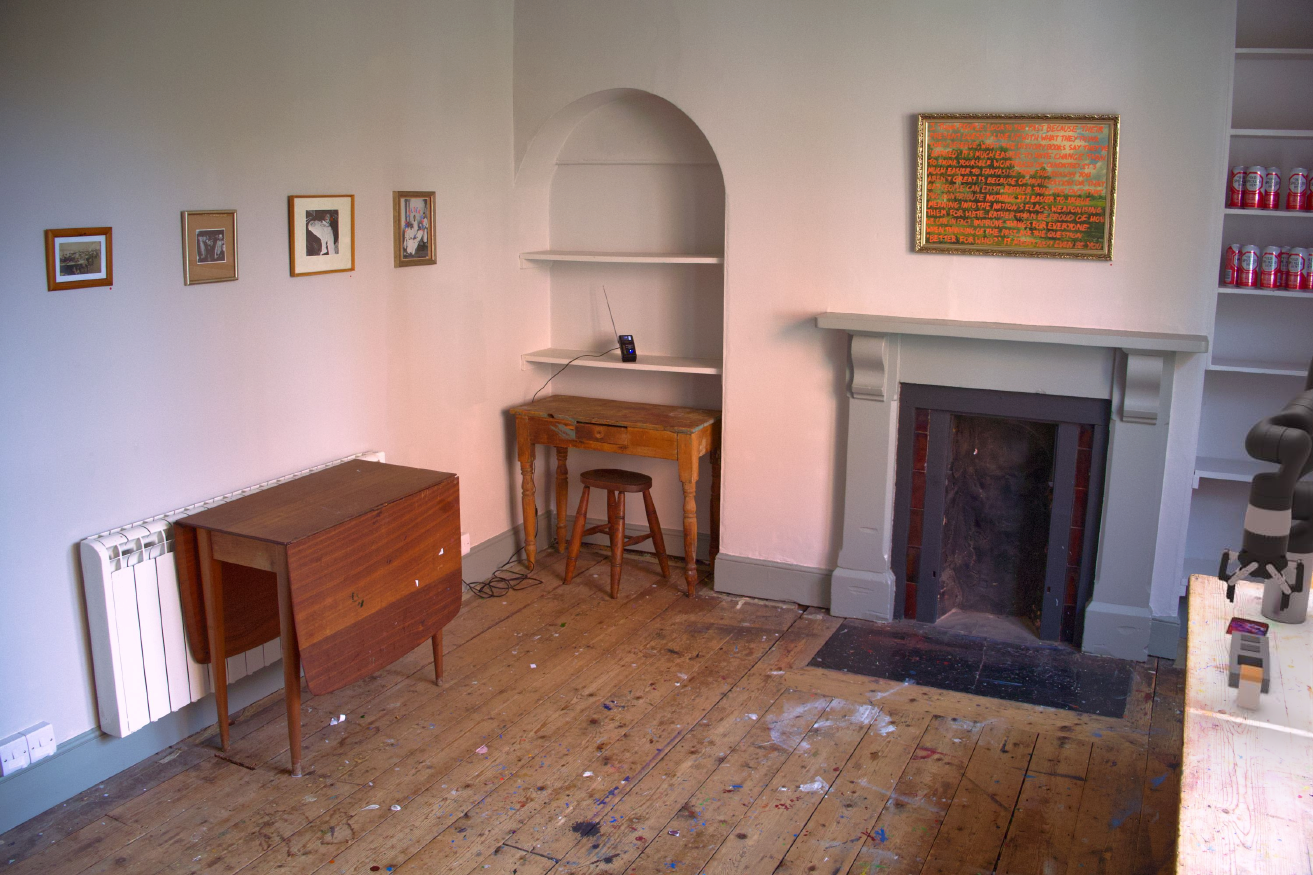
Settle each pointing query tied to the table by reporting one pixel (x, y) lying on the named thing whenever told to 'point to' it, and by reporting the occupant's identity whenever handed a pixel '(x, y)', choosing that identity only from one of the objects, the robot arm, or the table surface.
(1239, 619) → the smartphone
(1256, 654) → the power strip
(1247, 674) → the orange-topped block
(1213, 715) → the table surface
